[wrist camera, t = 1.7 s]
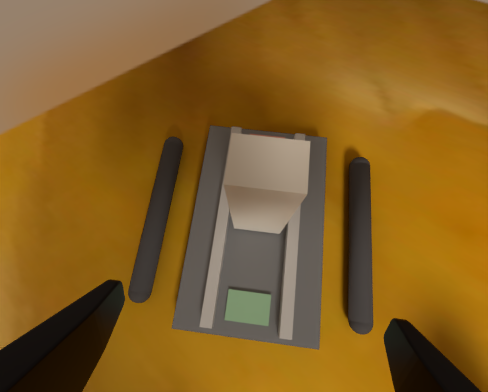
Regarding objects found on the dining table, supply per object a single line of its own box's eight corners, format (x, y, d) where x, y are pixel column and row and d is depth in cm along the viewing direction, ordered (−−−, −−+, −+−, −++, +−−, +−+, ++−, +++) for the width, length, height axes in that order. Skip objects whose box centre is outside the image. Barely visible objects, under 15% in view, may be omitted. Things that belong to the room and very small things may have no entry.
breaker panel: (313, 344, 19) (323, 353, 17) (177, 324, 20) (167, 331, 17) (322, 146, 24) (330, 131, 21) (212, 134, 24) (208, 118, 22)
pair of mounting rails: (367, 333, 19) (377, 337, 18) (131, 300, 20) (121, 302, 19) (365, 163, 23) (373, 154, 22) (169, 141, 24) (163, 132, 23)
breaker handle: (279, 233, 20) (307, 194, 11) (234, 228, 20) (223, 184, 11) (282, 203, 20) (310, 141, 11) (238, 197, 21) (231, 132, 11)
